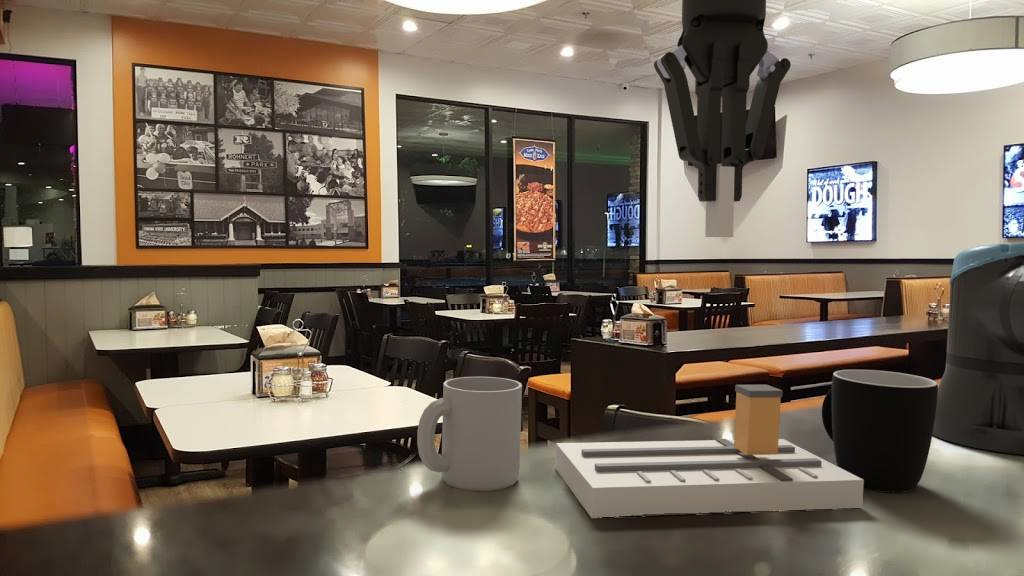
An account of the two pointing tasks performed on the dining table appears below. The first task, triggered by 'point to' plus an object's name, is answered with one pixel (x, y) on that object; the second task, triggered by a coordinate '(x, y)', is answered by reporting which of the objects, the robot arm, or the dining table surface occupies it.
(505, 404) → the cup
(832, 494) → the console
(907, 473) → the mug
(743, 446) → the fader cap
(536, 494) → the dining table surface
